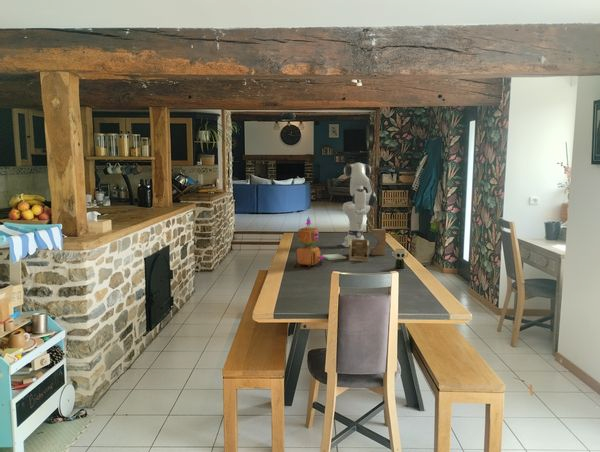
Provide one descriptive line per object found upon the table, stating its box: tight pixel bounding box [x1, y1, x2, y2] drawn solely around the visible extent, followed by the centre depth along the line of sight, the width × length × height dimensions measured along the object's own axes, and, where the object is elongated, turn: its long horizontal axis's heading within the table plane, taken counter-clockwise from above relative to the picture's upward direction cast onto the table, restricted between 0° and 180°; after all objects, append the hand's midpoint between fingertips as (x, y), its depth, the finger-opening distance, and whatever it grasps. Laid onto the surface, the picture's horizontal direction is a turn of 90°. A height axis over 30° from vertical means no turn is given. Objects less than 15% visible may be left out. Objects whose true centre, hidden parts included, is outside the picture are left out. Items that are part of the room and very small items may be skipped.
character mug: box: [391, 248, 409, 269], centre depth 341 cm, size 11×7×13 cm, turn 84°
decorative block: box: [369, 228, 387, 256], centre depth 389 cm, size 11×6×20 cm, turn 89°
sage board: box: [321, 253, 347, 261], centre depth 377 cm, size 14×14×1 cm
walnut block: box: [356, 243, 362, 256], centre depth 376 cm, size 4×4×9 cm
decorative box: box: [293, 216, 324, 270], centre depth 343 cm, size 19×21×35 cm
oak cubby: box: [348, 239, 370, 262], centre depth 377 cm, size 26×14×12 cm, turn 172°
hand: (359, 228), depth 375 cm, fingers open, 8 cm apart
